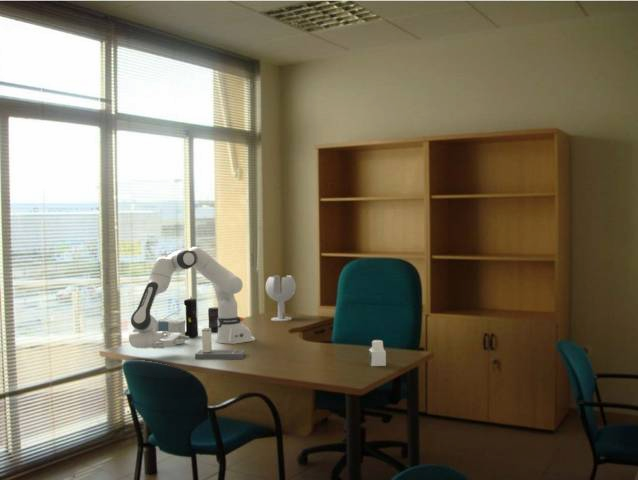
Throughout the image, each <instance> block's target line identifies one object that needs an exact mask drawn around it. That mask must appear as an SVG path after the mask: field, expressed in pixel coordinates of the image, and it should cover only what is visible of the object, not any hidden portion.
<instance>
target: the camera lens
mask: <svg viewBox="0 0 638 480" xmlns="http://www.w3.org/2000/svg"><path fill="white" fill-rule="evenodd" d="M207 313H208V316H207V317H208V328H211V333H218V324H217V320H218V306H217V307H216V306H215V307H208V312H207Z"/></svg>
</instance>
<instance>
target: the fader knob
mask: <svg viewBox="0 0 638 480" xmlns="http://www.w3.org/2000/svg"><path fill="white" fill-rule="evenodd" d="M201 338H202V340H201V341H202V342H201V343H202V350H203V352H210V351H211V350H213V346H212V332H211V328H209V327H204V328H203V329H201Z"/></svg>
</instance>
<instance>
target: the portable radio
mask: <svg viewBox="0 0 638 480" xmlns="http://www.w3.org/2000/svg"><path fill="white" fill-rule="evenodd" d="M183 304H184V305H185V336H189V339H191V338H192V339H193V338H196V337H197V336H199V330H198V318H197V299H196V298H192V297H190V298H187V299H184V300H183Z"/></svg>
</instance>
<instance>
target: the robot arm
mask: <svg viewBox="0 0 638 480" xmlns="http://www.w3.org/2000/svg"><path fill="white" fill-rule="evenodd" d="M192 267H193V268H194V269H195V270H196V271H197V272H198V273H199V274H201V275H202V276H203V277H204V278H205V279H207V280H208V281H210V282H211V284H212V287H213V290H214V291H215V297H216V301H217V307H218V320H217V324H218V332H217V336H216V340H215V342H216V343H220V344H230V345H231V344H232V345H233V344H242V343H246V342H254V341H256V338H255V337H254V336H252V333H251V329H250V328H249V327H247V326H246V325H245V324H243V323H242V322H244V318H243V317H242V316H241V317H240V316H238V302H237V300H236V298H235V294H238V293H241V291H242V289H243V281H242V279H241V278H240V277H238V276H236V275H235V273H233V272H231V270H229V269H227V268H226V267H225V266H223V265H222V264H220V263H219V262H218V261H216V259H214V257H212V256H211V255H210V254H209V253H208V252H207V251H205V250H204V249H201V247H198V246H192V247H191V248H189V249H181V250H180V249H179V250H176V251H172V252H169V254H167V255H166V256H160V257H158V258H157V259H156V261H155V263H154V264H153V266H152V270H151V272H150V274H149V278H148V281H147V284H146V287H145V289H144V291H143V293H142V296H141V299H140V301H139V304H138V306H137V308H136V309H135V310H134V312H133V313H132V315H131V316H130V324H131V326H132V327H133V328H134V329H132V331H131V332H130V333H129V336H128V342H129V344H130V346H131V347H132V348H136V349H164V348H172V347H174V346H175V345H178V344H179V345H180V344H185V341H188V340H190V338H189V336H183V335H182V333H177V332H168V331H156V327H157V321H156V319H157V318H155V317H154V316H153V315H152V314H151V309H152V307H153V304H154V301H155V298H156V297H157V295H160V294H162V293H165V292H166V291H167V290H168V288H169V286H170V284H171V280H172V276H173V273H174V272H181V271H185V270H189V269H191V268H192ZM184 340H185V341H184Z"/></svg>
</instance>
